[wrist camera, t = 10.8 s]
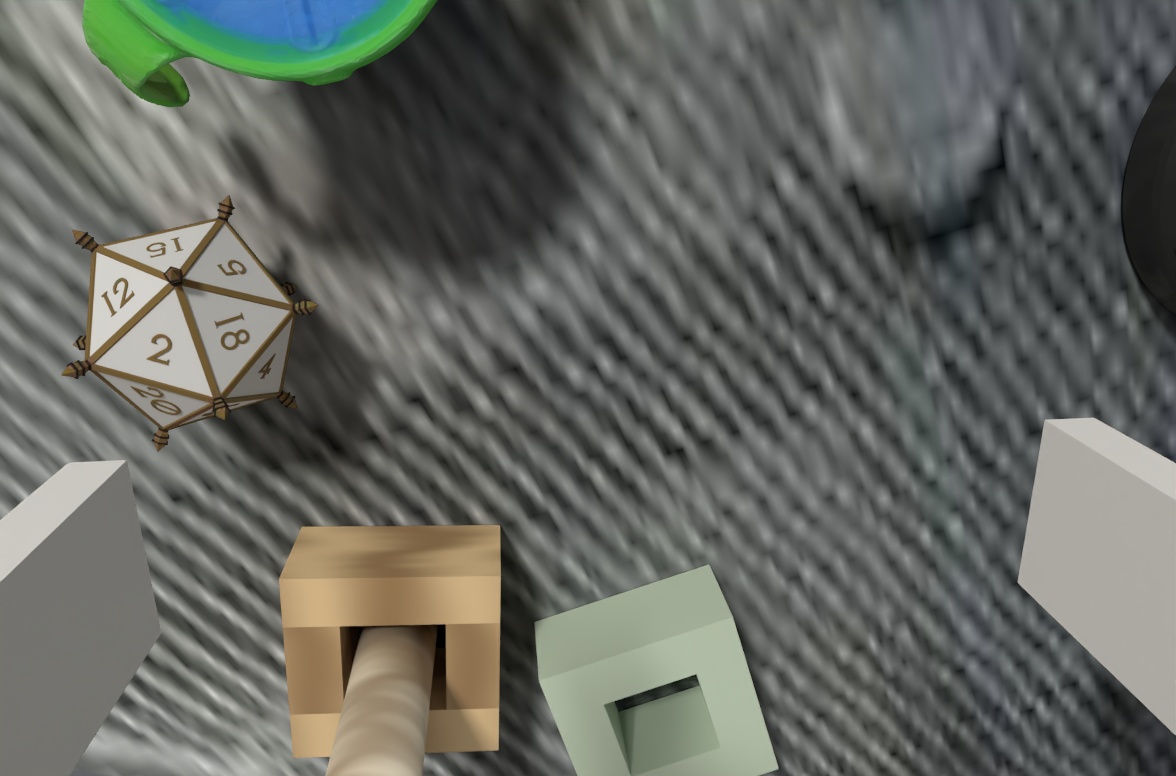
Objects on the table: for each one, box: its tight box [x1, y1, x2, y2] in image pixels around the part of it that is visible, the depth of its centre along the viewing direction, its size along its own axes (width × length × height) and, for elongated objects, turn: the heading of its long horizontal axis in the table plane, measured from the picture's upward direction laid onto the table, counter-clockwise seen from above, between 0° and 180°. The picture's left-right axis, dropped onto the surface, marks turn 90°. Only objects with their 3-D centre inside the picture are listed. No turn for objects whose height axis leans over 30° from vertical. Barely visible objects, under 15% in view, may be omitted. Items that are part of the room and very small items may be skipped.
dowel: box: [326, 624, 438, 776], centre depth 35 cm, size 3×3×14 cm
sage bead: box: [535, 565, 779, 776], centre depth 42 cm, size 9×9×4 cm
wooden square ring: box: [279, 525, 501, 758], centre depth 40 cm, size 9×9×4 cm
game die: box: [61, 196, 318, 451], centre depth 32 cm, size 9×8×10 cm
